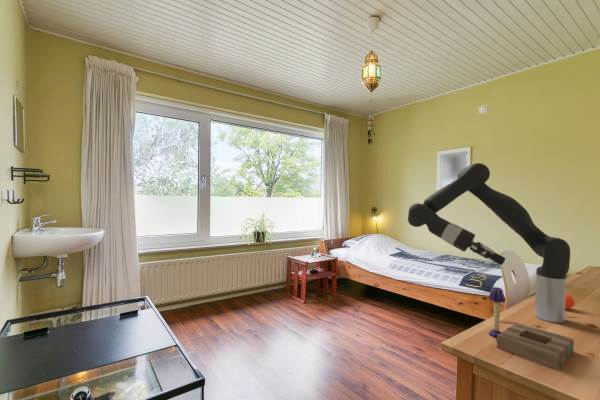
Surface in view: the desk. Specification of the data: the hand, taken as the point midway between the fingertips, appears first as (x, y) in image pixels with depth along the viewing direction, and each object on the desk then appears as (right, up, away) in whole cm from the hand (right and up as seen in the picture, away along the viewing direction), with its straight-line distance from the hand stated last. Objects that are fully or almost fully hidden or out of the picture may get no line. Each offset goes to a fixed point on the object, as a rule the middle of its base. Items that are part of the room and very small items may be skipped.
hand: (503, 261), depth 102 cm
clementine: (+49, -28, +32) cm, 65 cm away
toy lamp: (-2, -26, +1) cm, 26 cm away
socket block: (+4, -26, -8) cm, 28 cm away
